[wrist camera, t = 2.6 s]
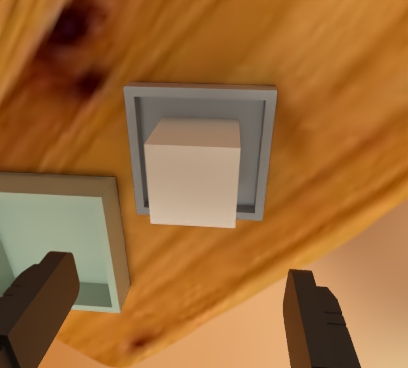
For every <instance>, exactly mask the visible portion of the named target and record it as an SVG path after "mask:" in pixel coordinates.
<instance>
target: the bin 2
mask: <svg viewBox="0 0 408 368" xmlns="http://www.w3.org/2000/svg"><path fill="white" fill-rule="evenodd" d="M123 89H124V98H125V108H126V117H127V127H128V136H129V145H130V155H131V164H132V174H133V183H134V193H135V202H136V212H137V214H147V215H150V210H149V198H148V186H147V174H146V161H145V149H144V144H145V142H146V141H147V139H148V138H149V136H150V135H151V133H152V132H153V130H154V129H155V127H156V126H157V124H158V123H159V121H160V120H161V118H162V117H183V118H212V119H239V129H240V147H241V149H240V163H239V178H238V192H237V207H236V219H240V220H258V221H262V220H263V211H264V202H265V194H266V185H267V177H268V168H269V159H270V151H271V142H272V134H273V125H274V117H275V108H276V99H277V89H276V87H275V85H240V84H203V83H165V82H129V83H127V84H126V85H124V86H123Z"/></svg>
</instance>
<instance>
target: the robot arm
mask: <svg viewBox="0 0 408 368" xmlns="http://www.w3.org/2000/svg"><path fill="white" fill-rule="evenodd" d="M79 289H80V282H79V277H78V273H77V268H76V264H75V260H74V256H73V254H72V253H71V252H60V251H50V252H48V253H47V254H46V255H45V257H44V258H43V259H42V260H41V262H40V263H39V264H33V265H32V266H30V267H29V268H27V269H26V270H24V271H23V272H21V273H20V274H19V276H18V277H17V278H16V279H15V280H14V281H13V283H12V284H11V287H8V289H7V290H6V291H5V292H4V293H3V296H2V297H0V368H37V367H38V366H39V364H40V362H41V361H42V359H43V357H44V355H45V354H46V352H47V350H48V348H49V347H50V345H51V343H52V341H53V340H54V338H55V336H56V334H57V333H58V331H59V329H60V327H61V326H62V324H63V322H64V320H65V319H66V317H67V315H68V313H69V312H70V310H71V308H72V306H73V305H74V303H75V301H76V299H77V297H78V294H79ZM283 317H284V324H285V330H286V338H287V344H288V351H289V358H290V365H291V368H361V366H360V363H359V360H358V357H357V355H356V352H355V349H354V346H353V343H352V340H351V337H350V334H349V332H348V329H347V327H346V323H345V320H344V317H343V316H342V311H341V308H340V306H339V303H338V300H337V299H336V297H335V296H334V295H333V294H332V293H331V291H330V290H329V289H328V288H327V287H319V286H316V283H315V280H314V276H313V273H312V271H309V270H296V269H290V270H289V272H288V277H287V283H286V288H285V294H284V300H283Z"/></svg>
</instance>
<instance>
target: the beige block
mask: <svg viewBox="0 0 408 368" xmlns="http://www.w3.org/2000/svg"><path fill="white" fill-rule="evenodd" d="M144 149H145V161H146V174H147V186H148V198H149V210H150V222H151V223H152V224H170V225H188V226H206V227H224V228H235V221H236V207H237V192H238V178H239V163H240V149H241V147H240V129H239V119H212V118H183V117H162V118H161V120H160V121H159V123H158V124H157V126H156V127H155V129H154V130H153V132H152V133H151V135H150V136H149V138H148V139H147V141H146V142H145V144H144Z"/></svg>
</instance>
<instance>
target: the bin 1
mask: <svg viewBox="0 0 408 368" xmlns="http://www.w3.org/2000/svg"><path fill="white" fill-rule="evenodd" d="M50 251H60V252H71V253H72V254H73V256H74V260H75V264H76V268H77V273H78V277H79V282H80V289H79V294H78V297H77V299H76V301H75V303H74V305H73V306H72V308H71V309H72V310H85V311H99V312H112V313H121V310H122V307H123V305H124V302H125V299H126V297H127V294H128V291H129V289H130V279H129V272H128V264H127V257H126V249H125V242H124V234H123V227H122V219H121V212H120V204H119V197H118V189H117V182H116V177H102V176H81V175H59V174H38V173H16V172H0V297H2V296H3V293H4V292H5V291H6V290H7V289H8V287H11V284H12V283H13V281H14V280H15V279H16V278H17V277H18V276H19V274H20V273H21V272H23V271H24V270H26V269H27V268H29V267H30V266H32V265H33V264H39V263H40V262H41V260H42V259H43V258H44V257H45V255H46V254H47V253H48V252H50Z"/></svg>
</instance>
